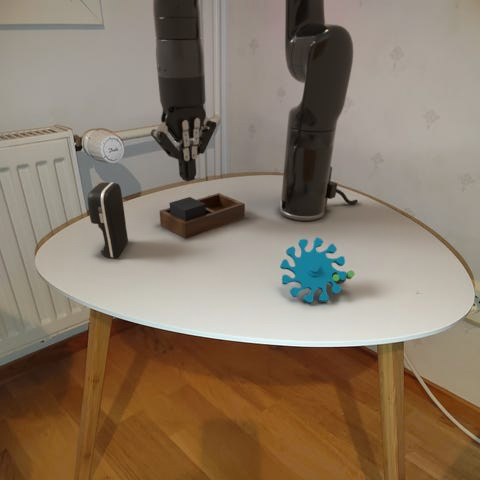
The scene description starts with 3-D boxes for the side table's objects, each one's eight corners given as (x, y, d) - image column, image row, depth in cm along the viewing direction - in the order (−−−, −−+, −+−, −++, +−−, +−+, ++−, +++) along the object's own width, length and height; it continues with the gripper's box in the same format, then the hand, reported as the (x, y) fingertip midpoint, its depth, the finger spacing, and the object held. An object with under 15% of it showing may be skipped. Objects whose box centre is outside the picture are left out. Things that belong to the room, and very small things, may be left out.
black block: (190, 215, 85) (189, 196, 83) (206, 223, 82) (206, 203, 80) (170, 222, 82) (169, 202, 80) (186, 230, 80) (185, 210, 77)
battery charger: (109, 240, 77) (98, 178, 70) (129, 241, 77) (120, 179, 70) (95, 258, 72) (81, 192, 65) (116, 259, 71) (105, 194, 65)
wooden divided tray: (160, 225, 83) (159, 210, 81) (219, 206, 92) (218, 192, 90) (185, 239, 78) (184, 223, 77) (244, 218, 87) (245, 203, 85)
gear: (275, 294, 61) (287, 229, 62) (271, 301, 67) (282, 242, 68) (349, 309, 61) (360, 244, 62) (338, 315, 67) (348, 256, 68)
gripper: (159, 78, 61) (171, 193, 72) (227, 71, 69) (228, 176, 79) (132, 73, 66) (146, 182, 76) (198, 66, 73) (203, 167, 84)
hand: (188, 179), depth 78 cm, fingers closed
